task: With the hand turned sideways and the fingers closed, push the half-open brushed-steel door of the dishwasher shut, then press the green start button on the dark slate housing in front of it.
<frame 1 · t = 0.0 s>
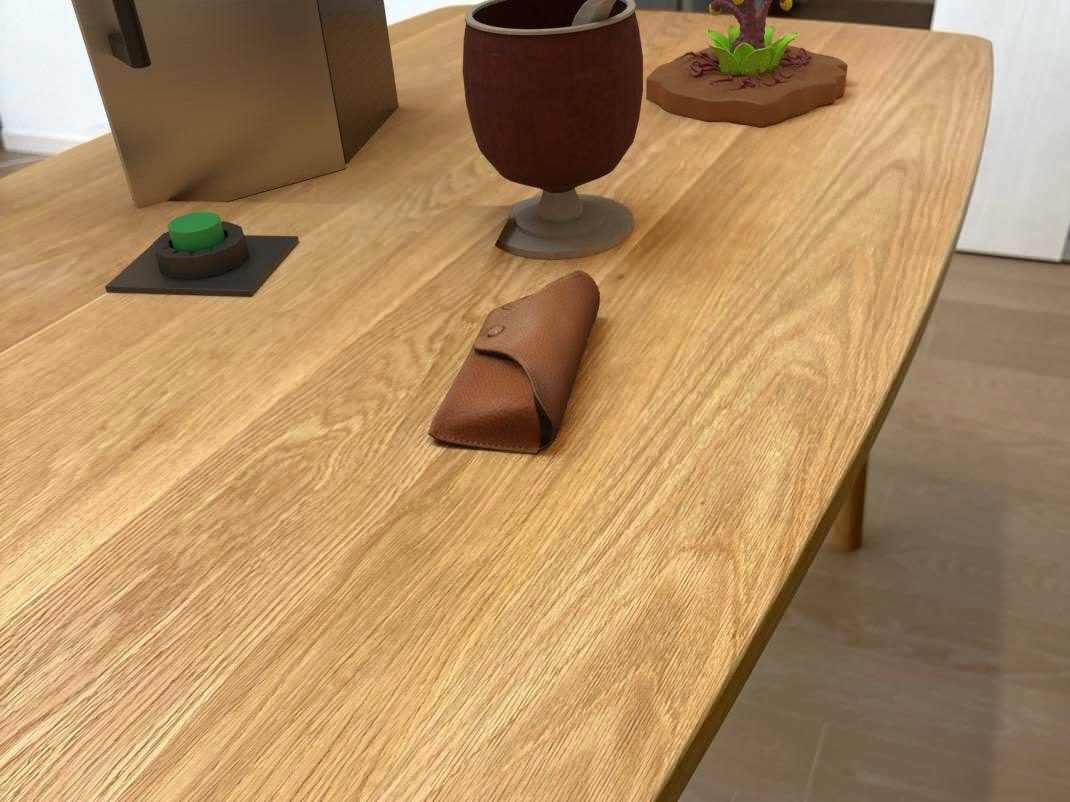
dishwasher: (284, 134, 115), on the table
dishwasher door: (226, 65, 91), point 12 cm above the table, hinge at 45.0°
mate gourd: (567, 233, 90), on the table
start button: (196, 232, 83), point 4 cm above the table, slide at 0.1 cm
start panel: (211, 286, 86), on the table
sunglasses case: (521, 379, 72), on the table
plant: (743, 96, 116), on the table
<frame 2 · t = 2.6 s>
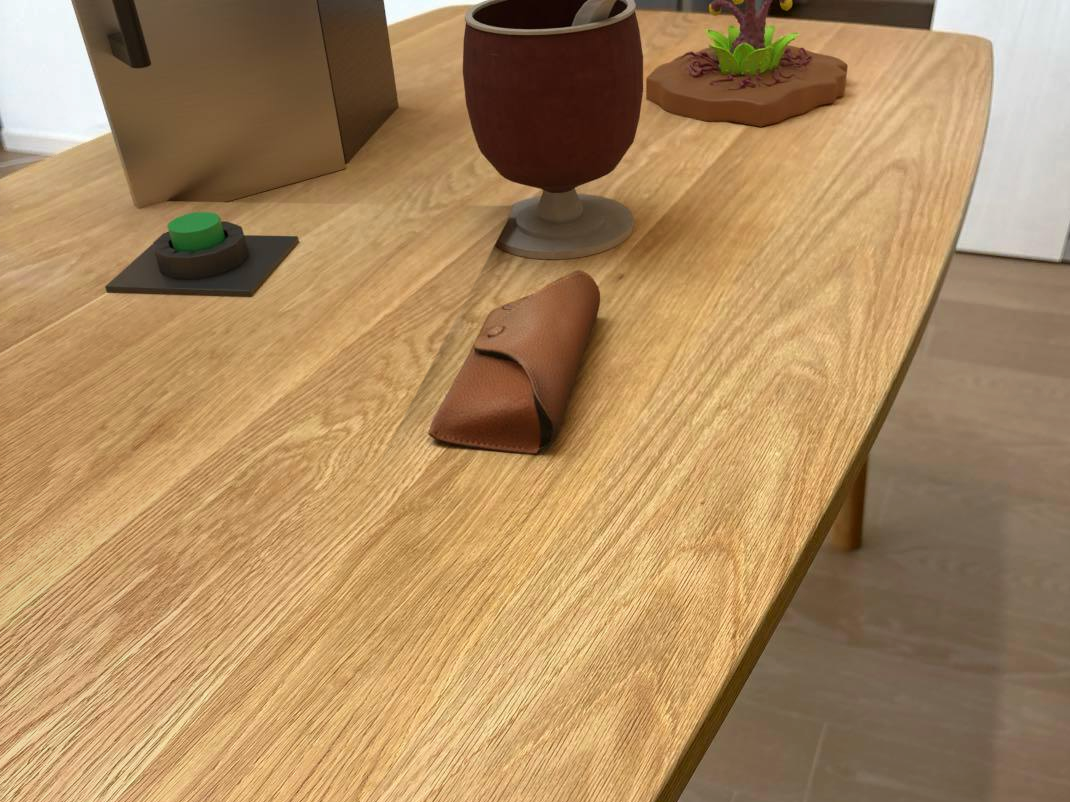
nothing on the table moved.
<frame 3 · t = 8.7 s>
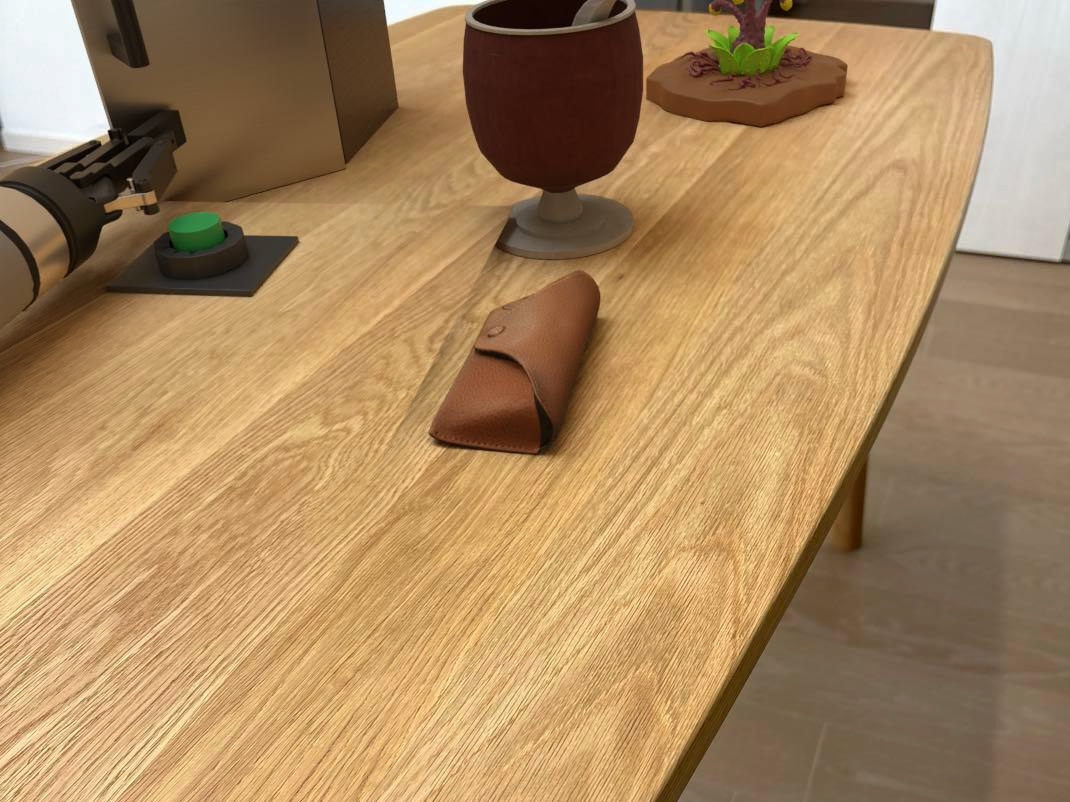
hand: (174, 125, 93), 8 cm above the table, tool horizontal, fingers closed
dishwasher door: (225, 65, 92), point 12 cm above the table, hinge at 44.4°, touching gripper
everything else where it was.
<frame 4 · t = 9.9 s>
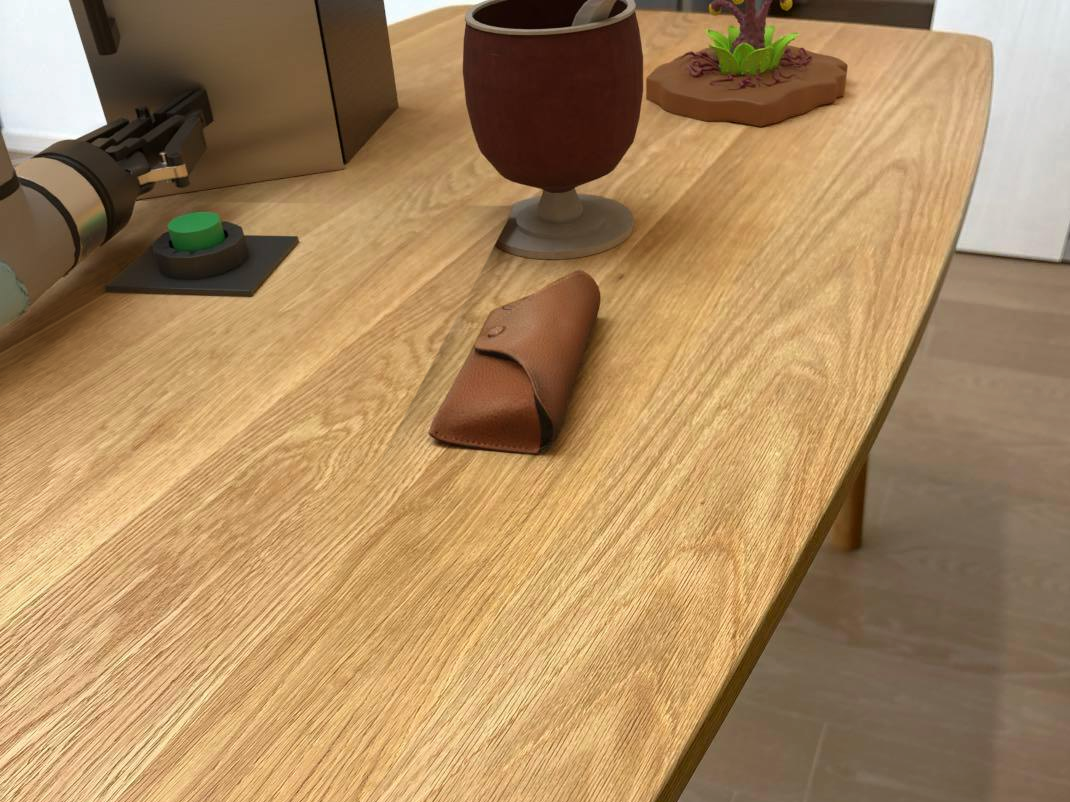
hand: (200, 105, 97), 8 cm above the table, tool horizontal, fingers closed
dishwasher door: (207, 58, 94), point 12 cm above the table, hinge at 25.3°, touching gripper
everything else where it was.
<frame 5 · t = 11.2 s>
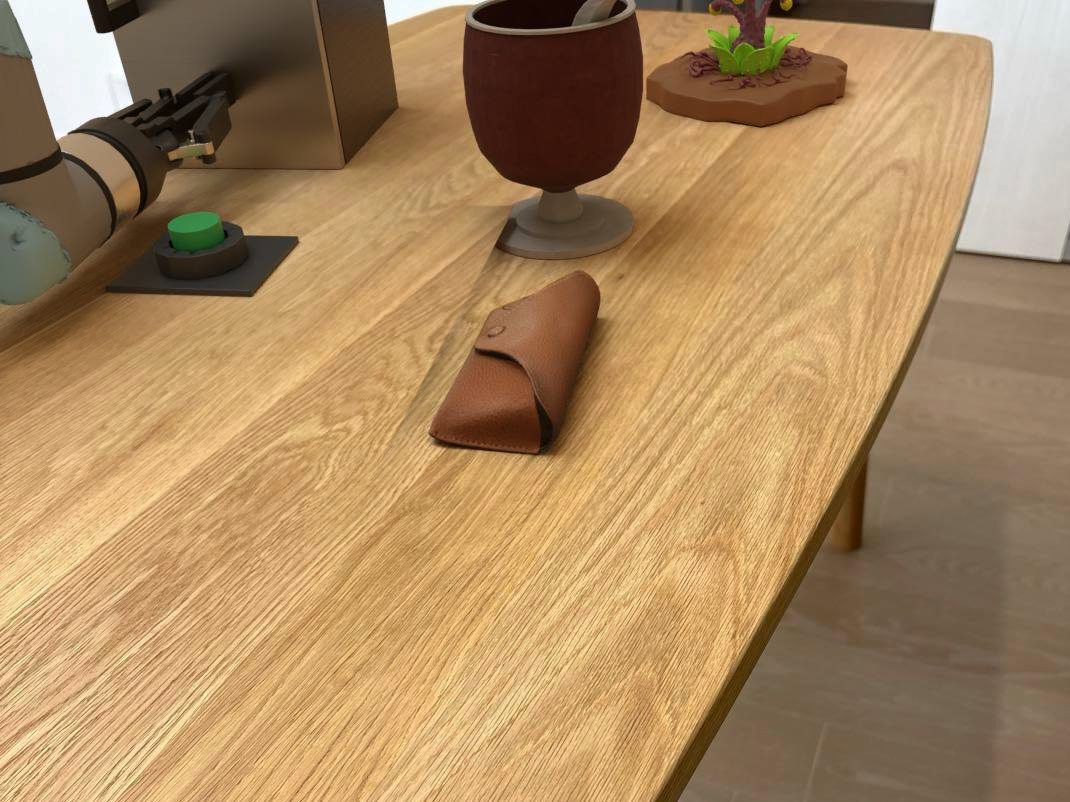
hand: (220, 87, 102), 8 cm above the table, tool horizontal, fingers closed, pressing on dishwasher door
dishwasher door: (203, 46, 97), point 12 cm above the table, hinge at -0.1°, touching gripper
everything else where it was.
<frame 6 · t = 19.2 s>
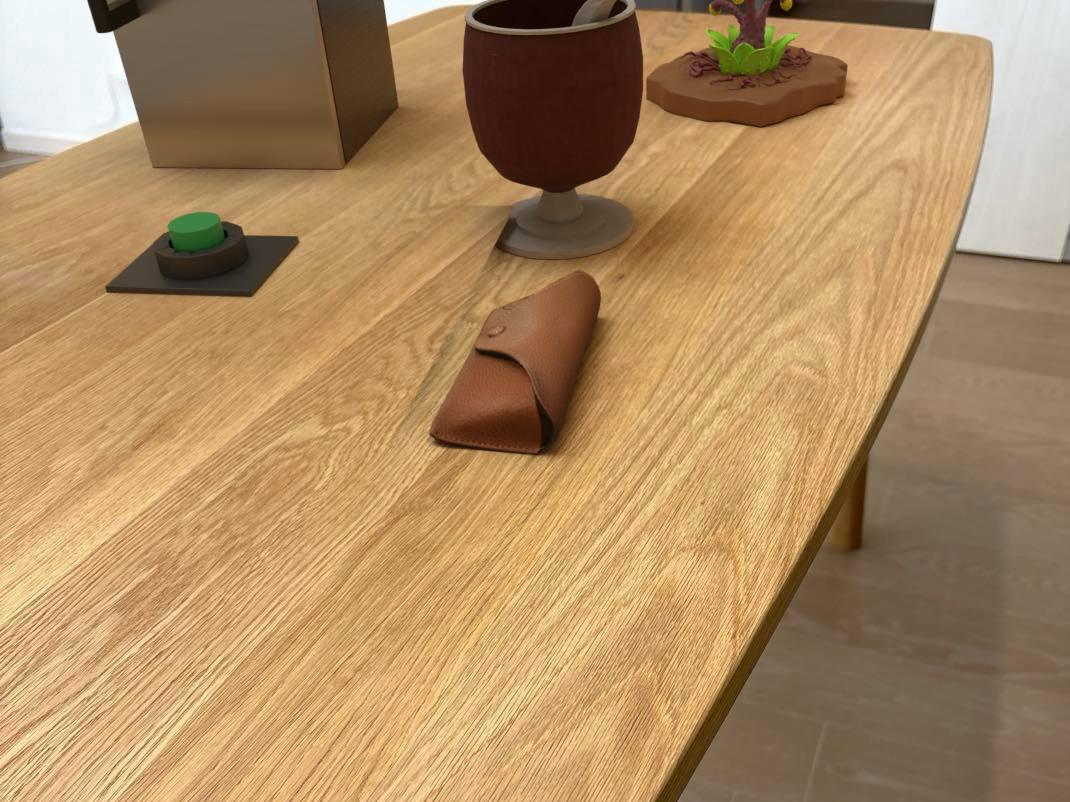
dishwasher door: (203, 46, 97), point 12 cm above the table, hinge at -0.4°
everything else where it was.
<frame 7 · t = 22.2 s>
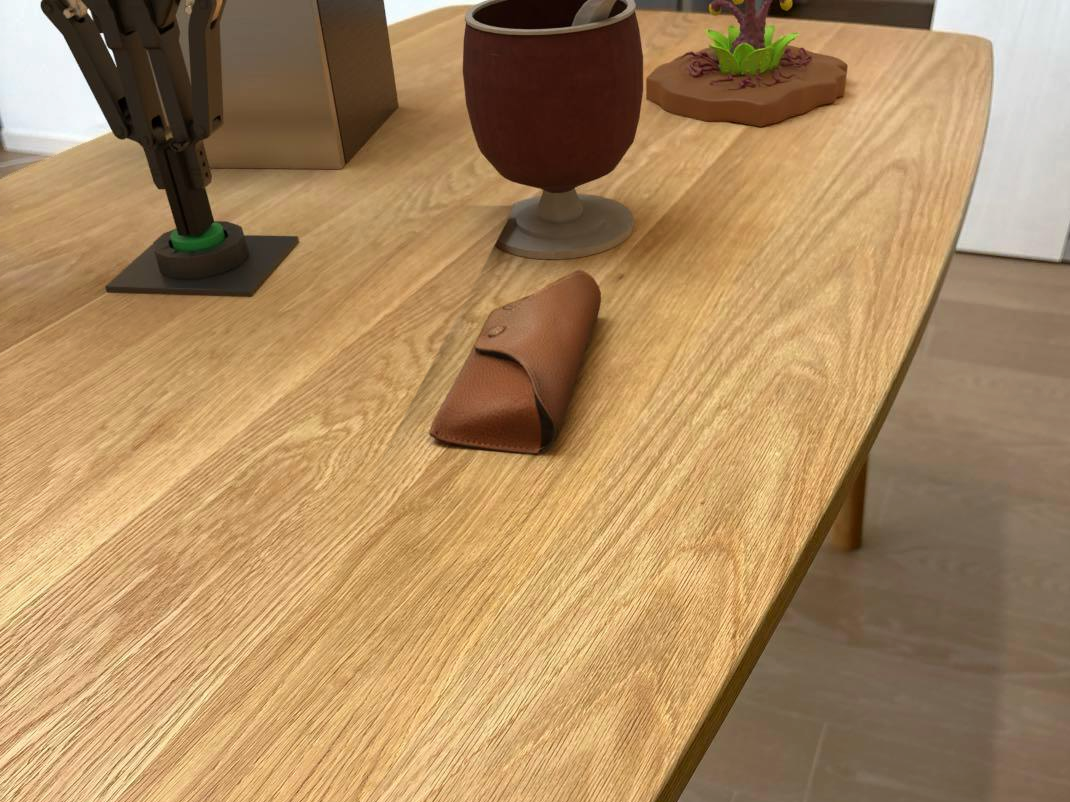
hand: (196, 228, 83), 5 cm above the table, tool pointing down, fingers closed
start button: (199, 242, 83), point 4 cm above the table, slide at -0.7 cm, touching gripper
everything else where it was.
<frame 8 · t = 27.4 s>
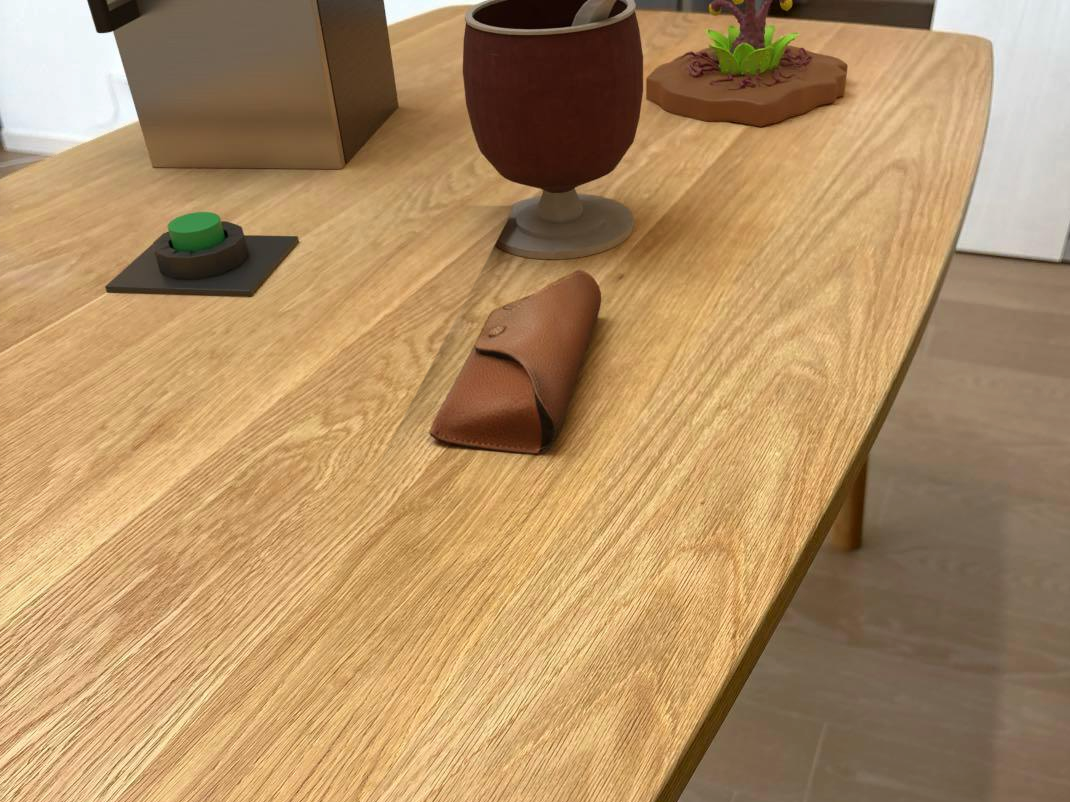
start button: (196, 232, 83), point 4 cm above the table, slide at 0.1 cm
everything else where it was.
at the end: dishwasher door at +0° (first picture: +45°); start button pushed in 1.0 cm at the most during the clip, back to where it started at the end; start button slide at 0.1 cm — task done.
